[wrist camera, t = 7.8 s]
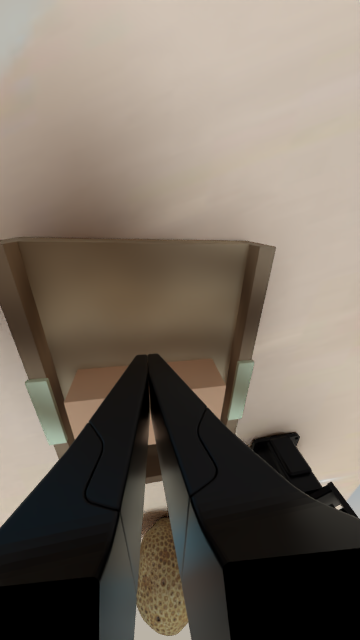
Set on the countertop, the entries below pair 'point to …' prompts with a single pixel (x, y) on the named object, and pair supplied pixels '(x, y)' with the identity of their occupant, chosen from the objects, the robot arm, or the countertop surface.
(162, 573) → the natural sponge
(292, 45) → the countertop surface
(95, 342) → the trap lane
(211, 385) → the block
